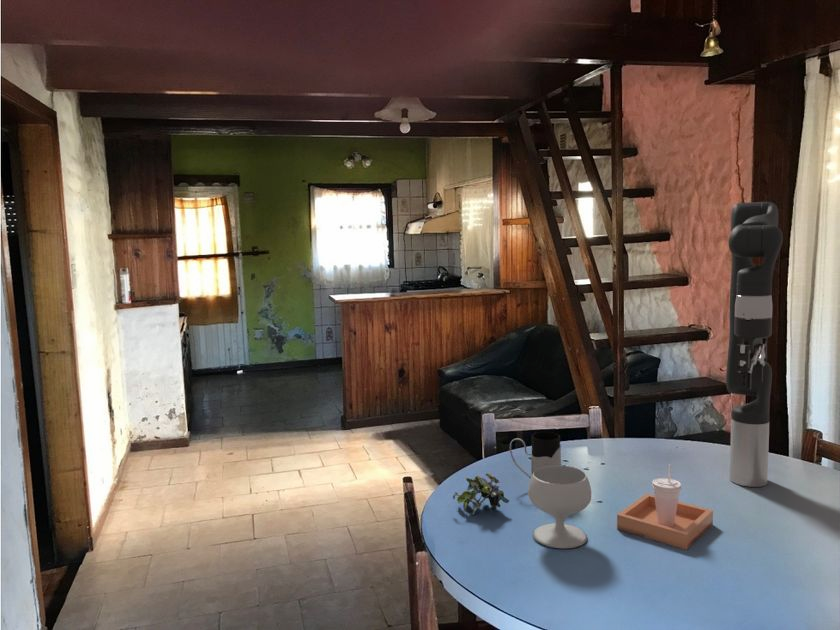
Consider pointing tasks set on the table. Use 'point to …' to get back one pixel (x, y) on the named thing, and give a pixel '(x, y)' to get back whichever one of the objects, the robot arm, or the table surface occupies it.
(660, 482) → the smoothie
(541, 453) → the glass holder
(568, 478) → the chalice
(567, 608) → the table surface
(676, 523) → the dish
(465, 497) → the leafy green plant
